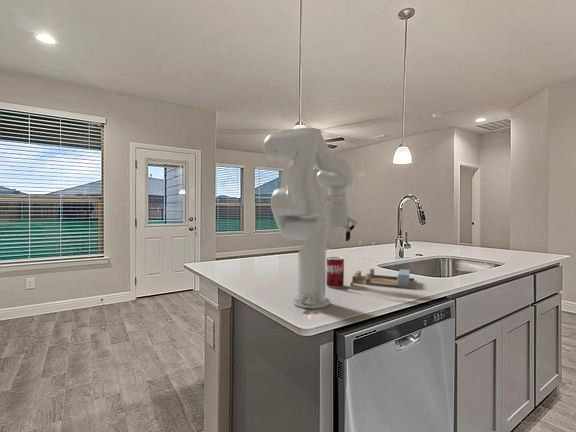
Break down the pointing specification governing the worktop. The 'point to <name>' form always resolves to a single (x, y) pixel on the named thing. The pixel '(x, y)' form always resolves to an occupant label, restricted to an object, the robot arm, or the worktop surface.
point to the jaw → (403, 277)
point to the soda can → (335, 272)
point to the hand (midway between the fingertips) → (336, 240)
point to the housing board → (381, 281)
